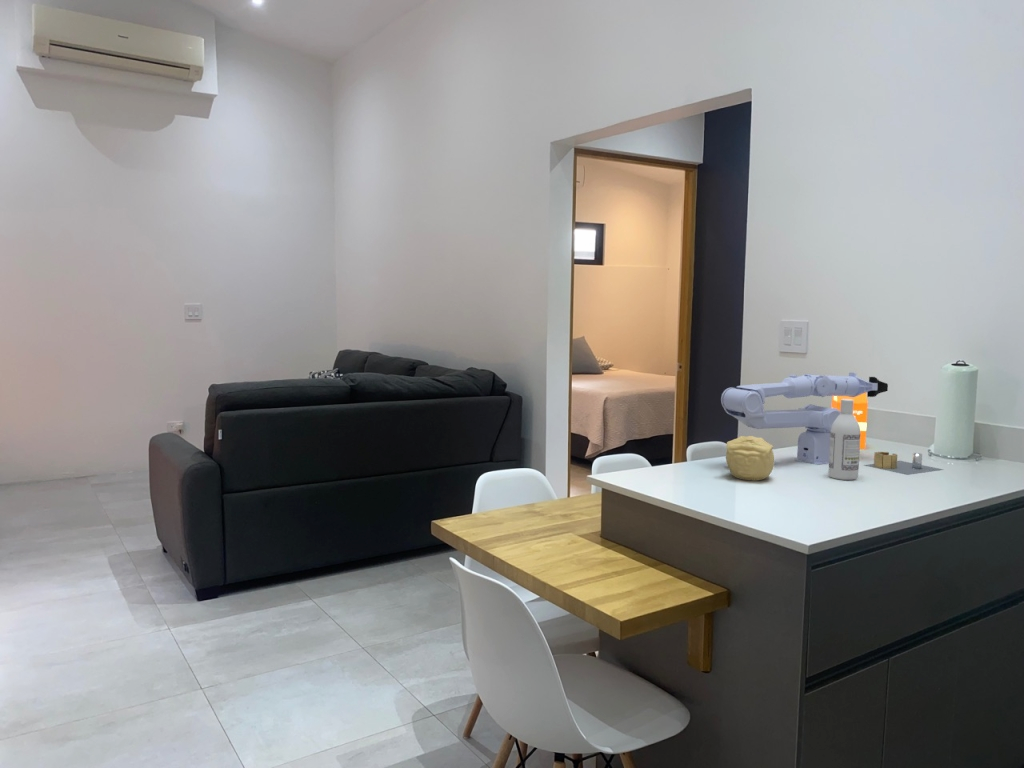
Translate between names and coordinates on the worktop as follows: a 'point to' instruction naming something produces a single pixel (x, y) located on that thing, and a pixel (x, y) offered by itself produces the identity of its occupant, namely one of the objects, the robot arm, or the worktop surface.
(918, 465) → the piston post
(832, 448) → the bath foam
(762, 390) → the robot arm
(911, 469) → the mat
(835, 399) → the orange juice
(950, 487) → the worktop surface
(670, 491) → the worktop surface
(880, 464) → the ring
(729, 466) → the sculpture
